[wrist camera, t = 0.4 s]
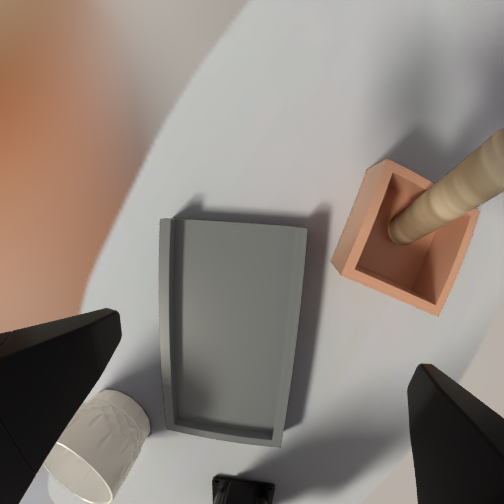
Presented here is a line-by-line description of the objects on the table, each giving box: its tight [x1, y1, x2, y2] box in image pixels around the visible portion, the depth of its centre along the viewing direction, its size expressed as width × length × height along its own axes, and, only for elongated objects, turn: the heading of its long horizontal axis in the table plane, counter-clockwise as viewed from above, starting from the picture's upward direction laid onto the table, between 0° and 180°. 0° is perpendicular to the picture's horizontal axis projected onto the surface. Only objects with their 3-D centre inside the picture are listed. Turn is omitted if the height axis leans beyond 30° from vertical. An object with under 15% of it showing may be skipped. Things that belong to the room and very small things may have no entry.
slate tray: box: [159, 218, 308, 448], centre depth 23 cm, size 18×10×2 cm, turn 176°
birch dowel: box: [388, 129, 504, 246], centre depth 14 cm, size 6×2×12 cm, turn 158°
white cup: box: [43, 389, 150, 504], centre depth 22 cm, size 8×8×10 cm
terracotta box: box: [330, 159, 480, 317], centre depth 19 cm, size 7×7×5 cm
